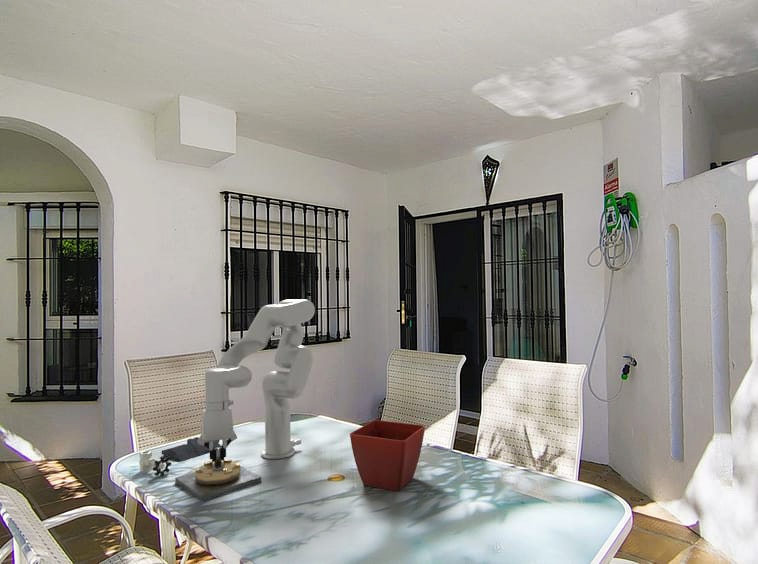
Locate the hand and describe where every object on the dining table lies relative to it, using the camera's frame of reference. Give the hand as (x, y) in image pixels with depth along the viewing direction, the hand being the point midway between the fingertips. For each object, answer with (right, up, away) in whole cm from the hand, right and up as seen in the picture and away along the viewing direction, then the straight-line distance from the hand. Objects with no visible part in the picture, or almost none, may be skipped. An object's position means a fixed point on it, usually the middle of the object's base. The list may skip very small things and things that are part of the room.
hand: (217, 459), depth 163 cm
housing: (+2, -5, -5) cm, 8 cm away
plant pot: (+58, -5, -7) cm, 58 cm away
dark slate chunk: (-19, -7, +27) cm, 34 cm away
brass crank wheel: (+2, -3, -5) cm, 7 cm away
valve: (-24, -7, +5) cm, 26 cm away
